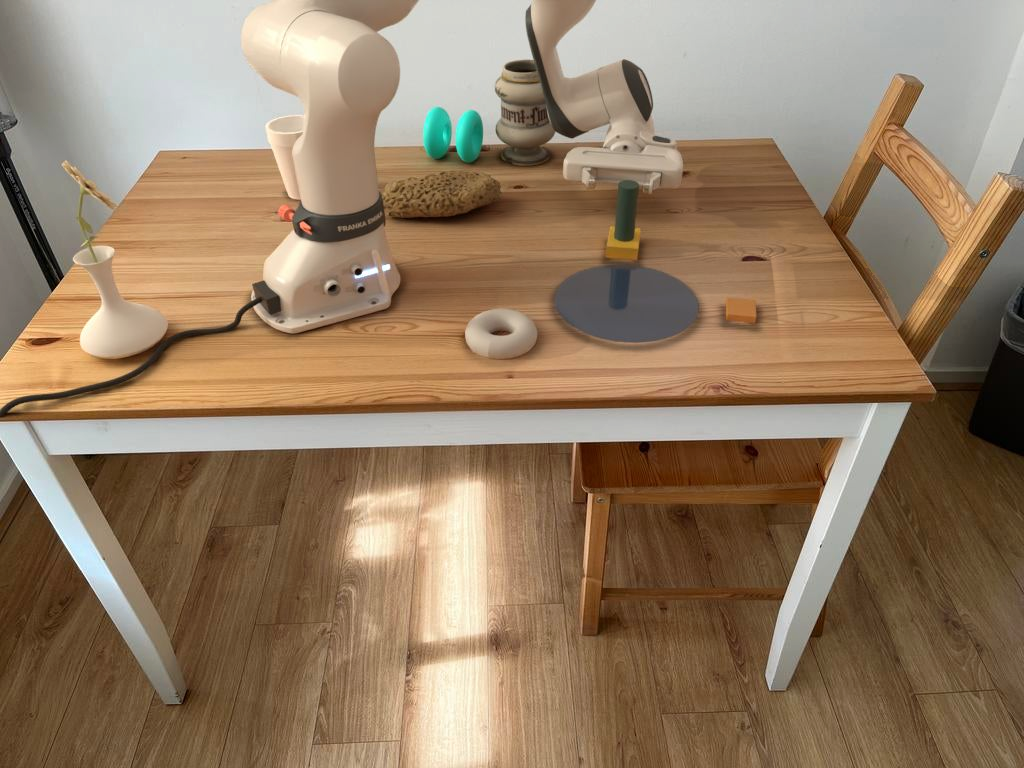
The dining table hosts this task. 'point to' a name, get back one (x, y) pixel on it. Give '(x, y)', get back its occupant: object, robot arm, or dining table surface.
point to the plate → (626, 303)
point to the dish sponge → (625, 224)
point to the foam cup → (286, 148)
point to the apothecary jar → (523, 114)
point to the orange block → (741, 310)
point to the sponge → (440, 194)
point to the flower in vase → (112, 296)
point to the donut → (501, 345)
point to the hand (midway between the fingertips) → (618, 187)
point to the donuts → (441, 132)
